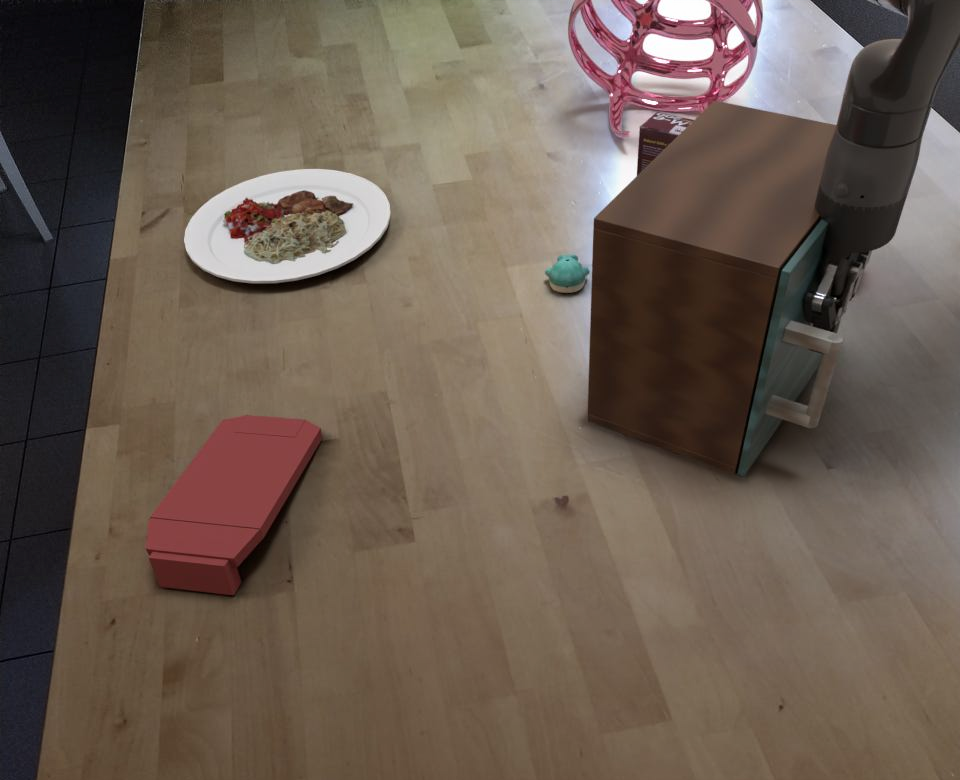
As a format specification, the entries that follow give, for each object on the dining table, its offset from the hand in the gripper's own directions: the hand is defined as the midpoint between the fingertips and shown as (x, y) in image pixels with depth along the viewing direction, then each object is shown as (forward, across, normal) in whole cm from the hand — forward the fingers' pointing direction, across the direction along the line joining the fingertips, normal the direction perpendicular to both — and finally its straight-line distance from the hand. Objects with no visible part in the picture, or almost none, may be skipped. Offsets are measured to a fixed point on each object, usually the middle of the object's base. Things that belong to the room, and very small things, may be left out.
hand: (819, 348), depth 93 cm
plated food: (+9, +3, +78) cm, 79 cm away
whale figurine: (+9, +11, +36) cm, 39 cm away
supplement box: (+9, +24, +28) cm, 38 cm away
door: (+9, +1, -1) cm, 9 cm away
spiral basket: (+9, +56, +46) cm, 73 cm away
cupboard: (+9, +1, +12) cm, 15 cm away
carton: (+9, -42, +47) cm, 64 cm away
